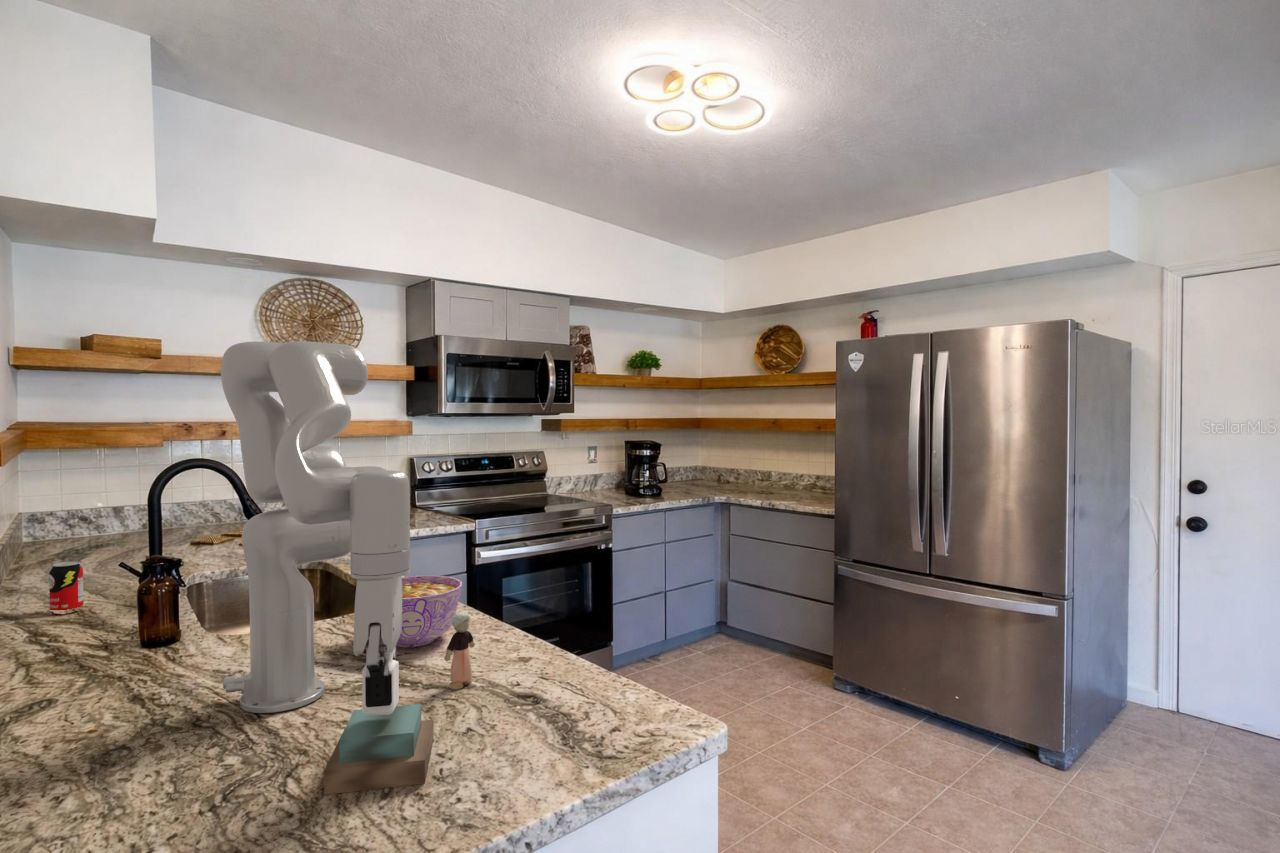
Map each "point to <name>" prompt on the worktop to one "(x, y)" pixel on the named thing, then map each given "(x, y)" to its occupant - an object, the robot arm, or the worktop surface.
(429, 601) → the bowl of food
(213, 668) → the worktop surface
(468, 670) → the grandmother figurine
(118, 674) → the worktop surface
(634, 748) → the worktop surface
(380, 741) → the square push button
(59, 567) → the beverage can
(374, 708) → the pepper shaker
